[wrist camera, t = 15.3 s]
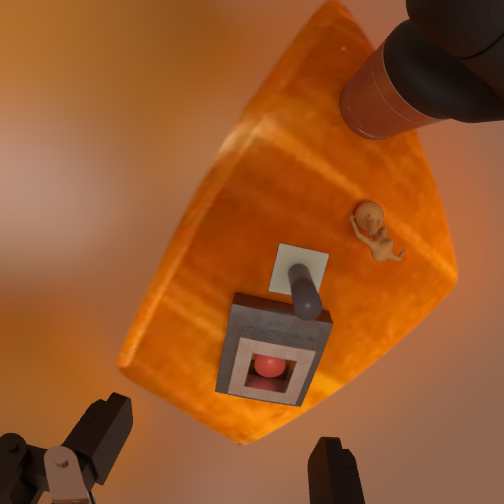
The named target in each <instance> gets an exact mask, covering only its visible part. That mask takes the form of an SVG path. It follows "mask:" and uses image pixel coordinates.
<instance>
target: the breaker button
mask: <svg viewBox="0 0 504 504" xmlns="http://www.w3.org/2000/svg"><path fill="white" fill-rule="evenodd" d="M285 366H286V363H285V359H281V358H276V357H270V356H265V355H260V354H256V355H255V370H256V371H257V372H258V373H259V374H260V375H262V376H264V377H276V376H278V375H280V374H281V373H283V371H284V370H285Z"/></svg>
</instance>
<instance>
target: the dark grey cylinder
mask: <svg viewBox="0 0 504 504" xmlns="http://www.w3.org/2000/svg"><path fill="white" fill-rule="evenodd" d="M288 278H289V284H290V289H291V295H292V301H293V306H294V312H295V314H296V316H297V317H298V318H300V319H301V320H305V321H310V320H313V319H315V318H317V317H318V316H319V315H320V313H321V311H322V302H321V300H320V297H319V295H318V292H317V289H316V287H315V284H314V282H313V279H312V277H311V274H310V272H309V269H308V268H307V267H306V266H305V265H303V264H294V265H293V266H291V267H290V269H289V271H288Z"/></svg>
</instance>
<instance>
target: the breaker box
mask: <svg viewBox="0 0 504 504" xmlns="http://www.w3.org/2000/svg"><path fill="white" fill-rule="evenodd" d="M332 326H333V321H332V319H331V316H330V314H329V311H324V310H322V311H321V313H320V315H319V316H318V317H317V318H315V319H313V320H310V321H305V320H301V319H300V318H298V317H297V316H296V314H295V312H294V306H293V304H288V303H283V302H278V301H273V300H268V299H264V298H259V297H254V296H250V295H245V294H240V293H235V296H234V299H233V302H232V307H231V312H230V317H229V322H228V327H227V332H226V337H225V342H224V347H223V352H222V357H221V362H220V367H219V372H218V378H217V383H216V388H215V392H219V393H224V394H228V395H233V396H238V397H243V398H248V399H254V400H259V401H265V402H271V403H277V404H284V405H291V406H299V407H301V405H302V403H303V400H304V398H305V396H306V393H307V391H308V389H309V386H310V384H311V381H312V379H313V376H314V374H315V371H316V369H317V366H318V364H319V361H320V359H321V356H322V354H323V351H324V348H325V346H326V343H327V340H328V337H329V335H330V332H331V329H332ZM253 353H255V354H260V355H265V356H270V357H276V358H281V359H286V362H285V363H286V366H285V370H284V371H283V373H281V374H280V375H278V376H276V377H264V376H262V375H260V374H259V373H258V372H257V371H256V370H255V360H251V357H252V354H253Z"/></svg>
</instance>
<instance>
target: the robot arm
mask: <svg viewBox="0 0 504 504" xmlns="http://www.w3.org/2000/svg"><path fill="white" fill-rule="evenodd" d="M406 8H407V12H408V16H409V18H410V19H409V20H406V21H404V22H402V23H401V24H399V25H398V26H397V27H396V28H395V29H394V30H393V31H392V33H390V35H389V36H388V37H387V38H386V39H385V40H384V42H383V43H382V44H381V45H380V46H379V47H378V49H377V50H375V51H374V52H373V54H372V55H371V56H370V57H369V58H368V59H367V61H366V62H365V63H364V64H363V65H362V67H361V68H360V69H359V70H358V71H357V73H356V74H355V76H354V77H353V78H352V79H351V81H350V82H349V83H348V84H347V86H346V87H345V88H344V89H343V92H342V94H341V98H340V109H341V113H342V116H343V118H344V120H345V122H346V123H347V124H348V126H349V127H350V128H351V129H352V130H353V131H354V132H356V133H357V134H359V135H360V136H363V137H365V138H368V139H383V138H387V137H390V136H393V135H396V134H400V133H403V132H406V131H409V130H412V129H416V128H419V127H422V126H426V125H429V124H432V123H435V122H439V121H443V120H446V119H450V118H452V119H454V120H457V121H461V122H466V123H479V122H489V121H500V120H504V0H406ZM132 425H133V415H132V406H131V399H130V398H128V397H126V396H123V395H121V394H118V393H115V392H113V393H112V394H111V395H110V397H109V398H108V400H107V401H104V400H101V399H99V400H98V401H96V402H94V403H92V404H91V405H90V406H89V408H88V409H87V410H86V412H85V414H83V416H82V417H81V419H80V421H78V423H77V424H76V426H75V427H74V429H73V430H72V431H71V433H70V434H69V436H68V437H67V438H66V440H65V441H64V443H63V444H62V445H61V446H55V447H52V448H50V449H43V448H39V447H35V446H31V445H28V444H26V442H25V440H24V439H23V438H22V437H21V436H20V435H18V434H15V433H7V434H4V435H3V436H1V437H0V504H37V503H38V501H39V499H40V497H41V495H42V493H43V491H48V492H50V494H51V498H52V504H96V501H95V498H94V495H93V492H92V487H93V485H94V484H95V482H96V483H98V484H100V485H103V484H104V482H105V480H106V478H107V476H108V474H109V472H110V471H111V469H112V467H113V465H114V463H115V461H116V459H117V457H118V455H119V453H120V451H121V449H122V447H123V445H124V443H125V441H126V439H127V437H128V436H129V434H130V432H131V429H132ZM308 480H309V495H310V504H365V501H364V496H363V492H362V487H361V483H360V478H359V473H358V469H357V464H356V460H355V457H354V456H353V454H352V453H351V452H350V451H349V449H342V445H341V441H340V438H338V437H321V438H320V439H319V441H318V443H317V445H316V446H315V448H314V450H313V452H312V453H311V455H310V457H309V460H308Z"/></svg>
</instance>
